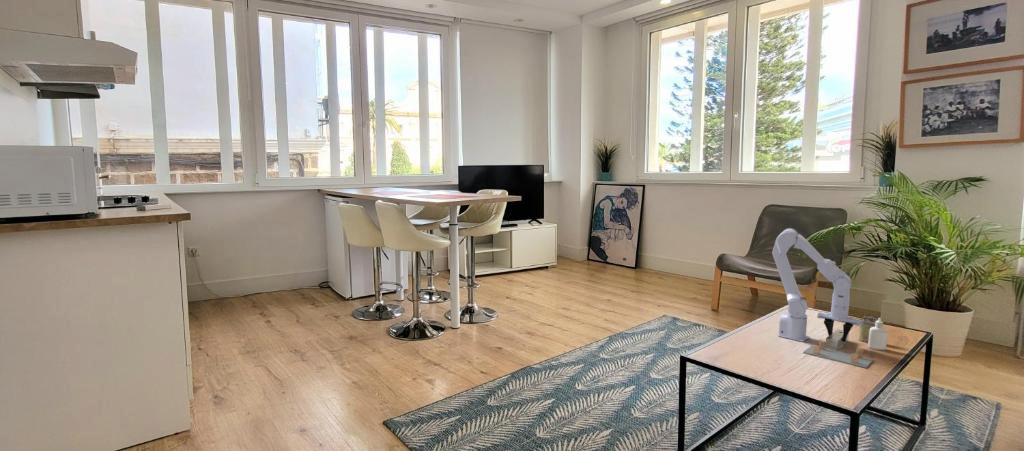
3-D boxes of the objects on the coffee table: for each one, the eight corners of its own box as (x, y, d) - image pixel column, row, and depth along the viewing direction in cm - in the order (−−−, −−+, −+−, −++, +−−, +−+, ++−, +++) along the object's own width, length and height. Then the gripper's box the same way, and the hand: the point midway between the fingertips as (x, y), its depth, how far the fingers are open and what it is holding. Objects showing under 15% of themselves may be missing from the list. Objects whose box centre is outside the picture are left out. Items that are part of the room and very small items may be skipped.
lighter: (880, 342, 209) (882, 318, 208) (879, 345, 207) (881, 320, 205) (859, 338, 214) (861, 314, 213) (857, 340, 211) (859, 316, 210)
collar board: (803, 353, 197) (803, 344, 197) (811, 346, 204) (812, 337, 204) (866, 368, 183) (867, 358, 183) (873, 360, 190) (874, 351, 190)
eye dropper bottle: (883, 352, 199) (886, 321, 198) (866, 347, 204) (869, 317, 202) (887, 349, 202) (890, 318, 200) (870, 345, 206) (873, 315, 205)
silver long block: (836, 351, 200) (837, 340, 200) (824, 348, 203) (825, 337, 202) (848, 341, 211) (849, 331, 211) (836, 338, 214) (837, 328, 214)
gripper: (816, 303, 207) (813, 337, 209) (859, 311, 197) (856, 346, 199) (821, 300, 212) (818, 333, 214) (864, 308, 202) (860, 342, 204)
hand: (837, 339), depth 207 cm, fingers closed on silver long block, 4 cm apart
